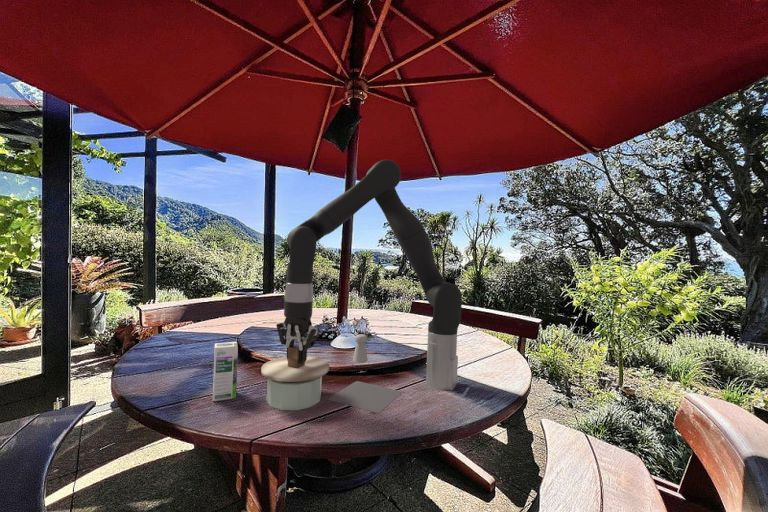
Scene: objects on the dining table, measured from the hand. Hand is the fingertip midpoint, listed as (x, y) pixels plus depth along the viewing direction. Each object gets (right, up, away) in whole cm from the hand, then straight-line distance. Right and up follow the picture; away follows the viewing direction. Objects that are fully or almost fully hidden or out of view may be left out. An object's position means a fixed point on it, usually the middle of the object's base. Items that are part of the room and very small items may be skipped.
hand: (296, 361), depth 91 cm
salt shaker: (+16, -12, +24) cm, 31 cm away
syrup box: (-20, -10, +1) cm, 22 cm away
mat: (+19, -11, +4) cm, 23 cm away
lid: (0, -2, 0) cm, 2 cm away
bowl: (0, -11, 0) cm, 11 cm away
